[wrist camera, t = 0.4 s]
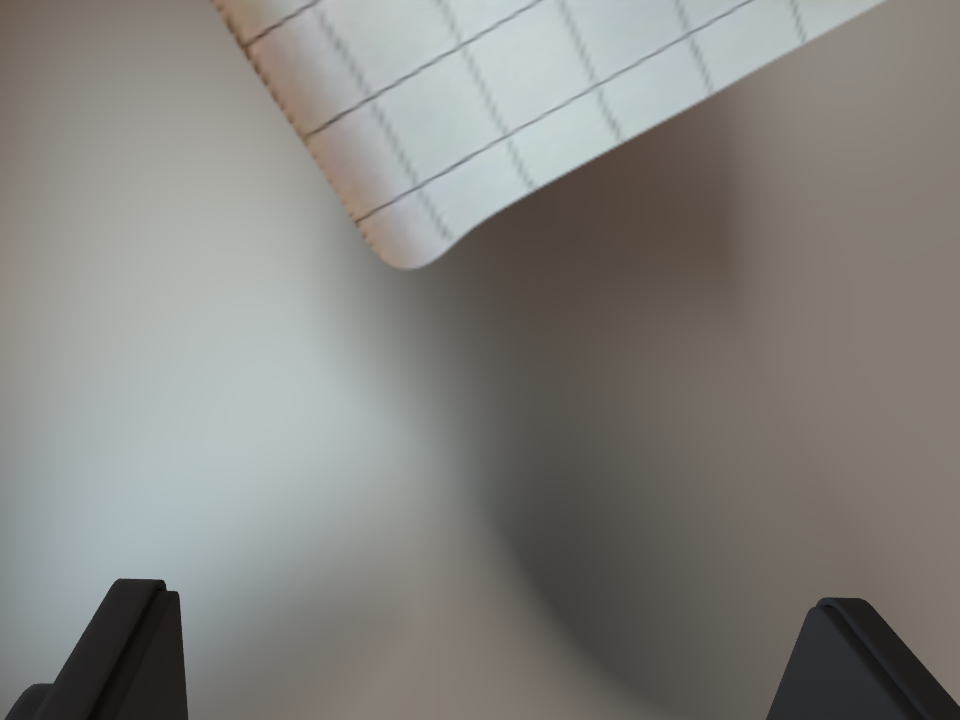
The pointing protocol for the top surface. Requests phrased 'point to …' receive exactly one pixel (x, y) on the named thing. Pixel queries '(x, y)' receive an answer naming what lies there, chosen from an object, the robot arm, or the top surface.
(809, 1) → the top surface
